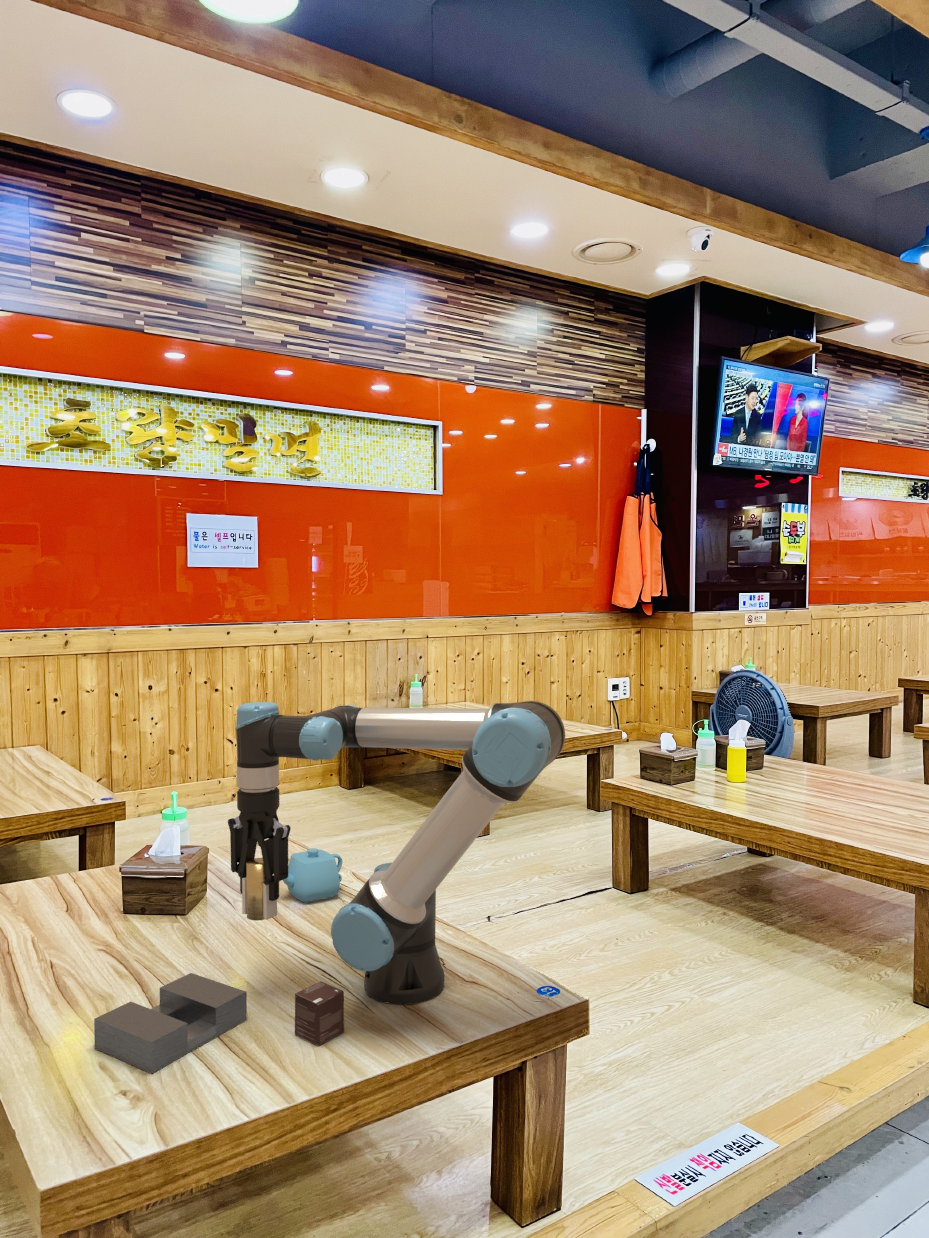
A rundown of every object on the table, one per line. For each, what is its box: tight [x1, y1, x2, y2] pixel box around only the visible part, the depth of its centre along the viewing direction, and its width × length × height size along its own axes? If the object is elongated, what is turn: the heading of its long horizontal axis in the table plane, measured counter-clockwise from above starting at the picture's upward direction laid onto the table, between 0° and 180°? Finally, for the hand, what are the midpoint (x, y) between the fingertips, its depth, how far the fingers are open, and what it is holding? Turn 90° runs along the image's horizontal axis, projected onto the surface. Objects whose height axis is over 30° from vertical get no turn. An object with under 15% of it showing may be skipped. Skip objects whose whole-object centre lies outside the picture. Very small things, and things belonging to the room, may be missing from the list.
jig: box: [93, 972, 248, 1075], centre depth 147 cm, size 14×20×5 cm
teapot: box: [282, 847, 343, 904], centre depth 213 cm, size 12×18×12 cm
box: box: [294, 981, 345, 1047], centre depth 147 cm, size 6×6×7 cm
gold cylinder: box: [246, 857, 267, 921], centre depth 159 cm, size 5×5×10 cm
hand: (259, 913), depth 159 cm, fingers closed on gold cylinder, 5 cm apart
